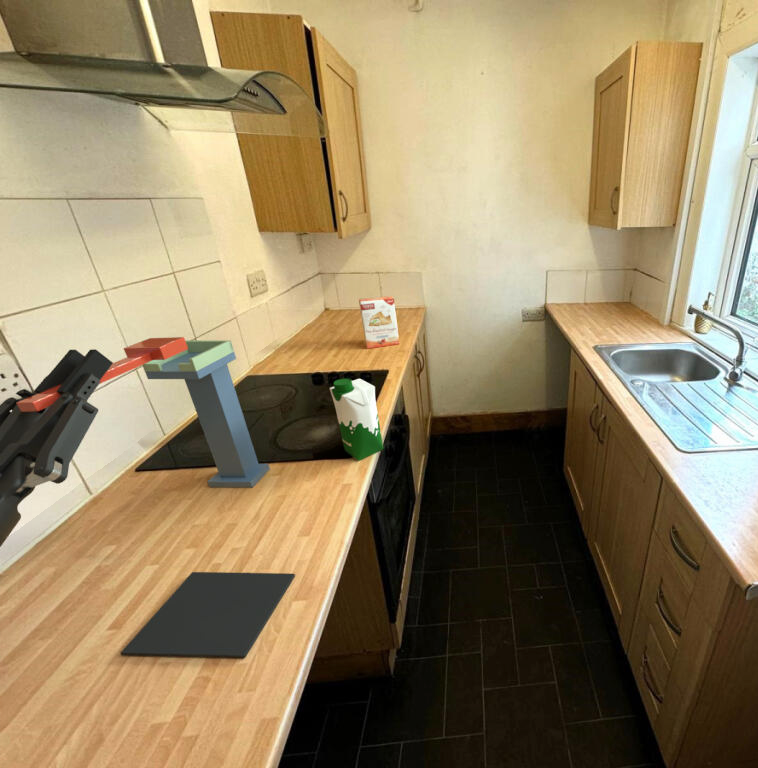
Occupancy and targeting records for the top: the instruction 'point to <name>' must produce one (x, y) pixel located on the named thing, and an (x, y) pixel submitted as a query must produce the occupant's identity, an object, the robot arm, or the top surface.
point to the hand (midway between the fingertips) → (91, 356)
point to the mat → (212, 616)
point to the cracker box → (379, 321)
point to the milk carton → (357, 417)
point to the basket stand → (215, 409)
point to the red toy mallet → (116, 367)
